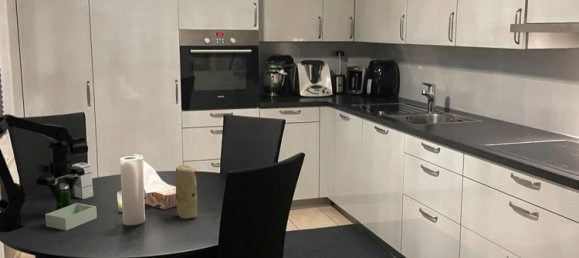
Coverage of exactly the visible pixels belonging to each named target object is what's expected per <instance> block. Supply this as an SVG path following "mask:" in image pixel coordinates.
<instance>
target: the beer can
mask: <svg viewBox="0 0 579 258" xmlns="http://www.w3.org/2000/svg"><path fill="white" fill-rule="evenodd" d="M54 200H55V201H54V202H55V211H56V210H59V209H62V208H64V207H67V206H70V205H72V204H71V203H72V202H71V194H70V187H69V184H67V183H66V182H62V183H60V189H59V198H58V200H56V199H55V198H54Z"/></svg>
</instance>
